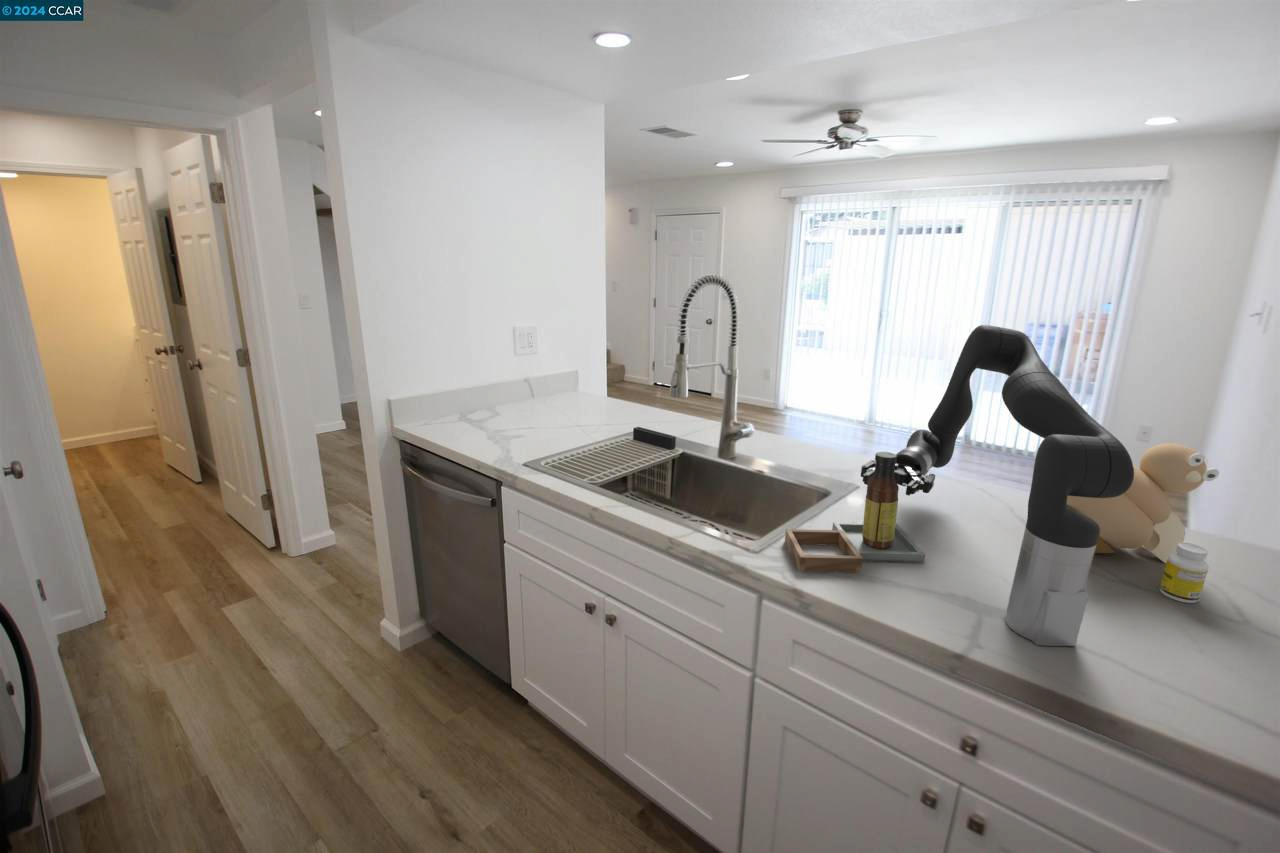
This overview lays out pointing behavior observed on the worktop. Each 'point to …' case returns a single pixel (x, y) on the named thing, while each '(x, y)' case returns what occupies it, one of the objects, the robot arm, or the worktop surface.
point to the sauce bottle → (881, 503)
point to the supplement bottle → (1185, 573)
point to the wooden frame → (823, 562)
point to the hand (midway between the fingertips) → (886, 485)
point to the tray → (897, 553)
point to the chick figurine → (1147, 502)
